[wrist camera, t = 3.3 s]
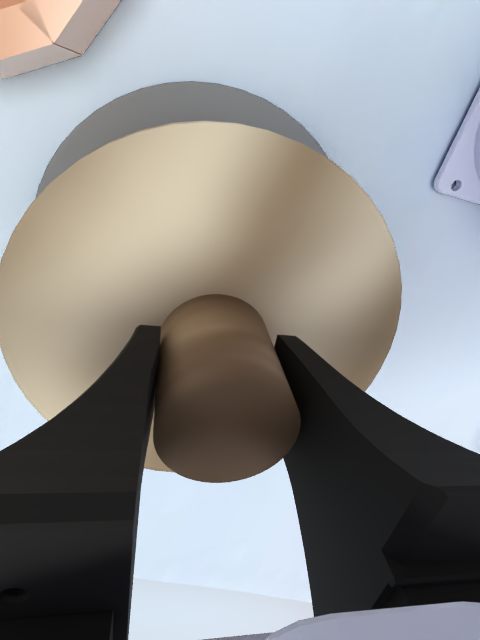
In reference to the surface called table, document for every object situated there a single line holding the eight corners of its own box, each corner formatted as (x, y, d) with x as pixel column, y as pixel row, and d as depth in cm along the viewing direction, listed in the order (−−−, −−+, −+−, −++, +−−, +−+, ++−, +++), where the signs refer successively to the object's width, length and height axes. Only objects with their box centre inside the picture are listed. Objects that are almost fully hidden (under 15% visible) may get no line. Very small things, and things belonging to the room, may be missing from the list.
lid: (459, 188, 12) (604, 238, 8) (313, 465, 18) (354, 574, 14) (-1, 47, 9) (-154, 9, 5) (7, 445, 15) (-56, 582, 11)
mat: (397, 141, 17) (402, 142, 17) (290, 392, 24) (291, 396, 24) (37, 23, 14) (34, 21, 13) (31, 362, 20) (29, 366, 20)
